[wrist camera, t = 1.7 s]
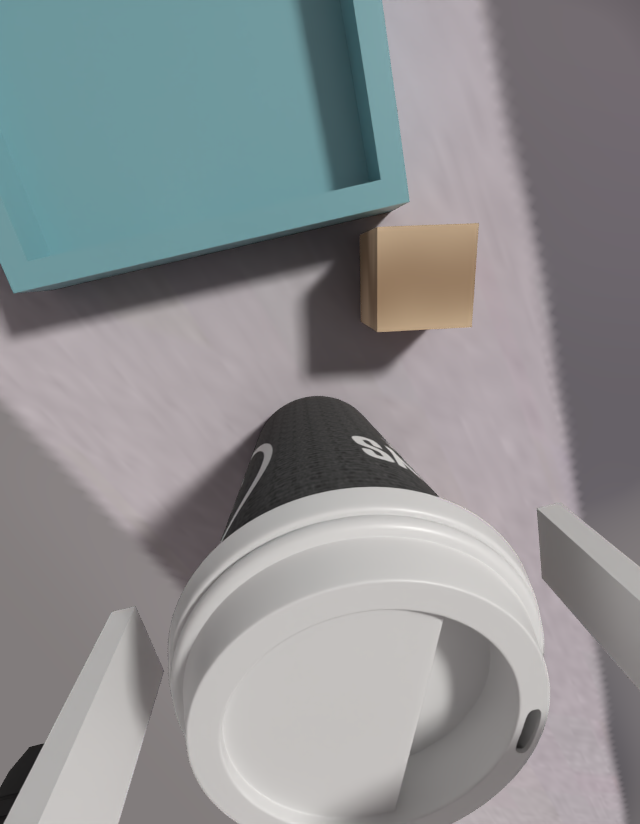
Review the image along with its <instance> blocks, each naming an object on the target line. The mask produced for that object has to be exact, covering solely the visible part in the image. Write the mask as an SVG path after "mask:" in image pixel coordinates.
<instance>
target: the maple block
mask: <svg viewBox="0 0 640 824" xmlns="http://www.w3.org/2000/svg"><path fill="white" fill-rule="evenodd" d="M478 227H479V223H473V224H446V225H419V226H392V227H376V228H374V229H372V230H370V231H367V232H365V233H363V234H361V235H360V304H361V322H362V323H364V324H365V325H367V326H369V327H370V328H372V329H373V330H375V331H376V332H389V331H408V330H426V329H445V328H463V327H472V314H473V299H474V285H475V270H476V256H477V241H478Z"/></svg>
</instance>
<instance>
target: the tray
mask: <svg viewBox="0 0 640 824" xmlns="http://www.w3.org/2000/svg"><path fill="white" fill-rule="evenodd" d="M408 202H410V201H409V194H408V186H407V179H406V172H405V165H404V157H403V150H402V143H401V136H400V128H399V121H398V114H397V107H396V99H395V92H394V85H393V77H392V70H391V63H390V56H389V48H388V41H387V34H386V27H385V19H384V12H383V5H382V0H0V264H1V266H2V268H3V270H4V273H5V275H6V277H7V279H8V282H9V284H10V286H11V289H12V291H13V293H24V292H36V291H47V290H54V289H59V288H63V287H67V286H72V285H76V284H80V283H85V282H89V281H93V280H98V279H102V278H106V277H110V276H115V275H119V274H123V273H128V272H132V271H136V270H141V269H145V268H149V267H154V266H158V265H162V264H167V263H171V262H175V261H179V260H184V259H188V258H192V257H197V256H201V255H205V254H210V253H214V252H218V251H223V250H227V249H231V248H236V247H240V246H244V245H248V244H253V243H257V242H261V241H266V240H270V239H274V238H279V237H283V236H287V235H292V234H296V233H300V232H305V231H309V230H313V229H317V228H322V227H326V226H330V225H335V224H339V223H343V222H348V221H352V220H356V219H361V218H365V217H369V216H374V215H378V214H382V213H386V212H391V211H393V210H395V209H397V208H398V207H400V206H402V205H404V204H406V203H408Z"/></svg>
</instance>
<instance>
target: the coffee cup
mask: <svg viewBox="0 0 640 824" xmlns="http://www.w3.org/2000/svg"><path fill="white" fill-rule="evenodd" d="M168 674H169V685H170V691H171V696H172V700H173V706H174V710H175V714H176V717H177V720H178V722H179V725H180V728H181V730H182V732H183V734H184V736H185V738H186V748H187V753H188V758H189V762H190V765H191V768H192V771H193V773H194V775H195V777H196V779H197V781H198V783H199V785H200V786H201V788H202V790H203V791H204V792H205V793H206V795H207V796H208V798H209V799H210V800H211V801H212V802H213V803H214V804H215V805H216V806H217V807H218V808H219V809H220V810H221V811H222V812H223V813H225V814H226V815H227V816H228V817H230V818H231V819H232V820H234V821H235V822H237V823H238V824H452V823H454V822H456V821H458V820H460V819H461V818H463V817H465V816H467V815H468V814H470V813H472V812H473V811H475V810H476V809H478V808H479V807H481V806H482V805H483V804H485V803H486V802H488V801H489V800H490V799H491V798H493V797H494V796H495V795H496V794H497V793H499V792H500V791H501V790H502V789H503V788H504V787H505V786H506V785H507V784H508V783H509V782H510V781H511V780H512V779H513V778H514V777H515V776H516V775H517V773H518V772H519V771H520V770H521V769H522V767H523V766H524V765H525V763H526V762H527V760H528V759H529V757H530V756H531V754H532V753H533V751H534V749H535V747H536V745H537V743H538V741H539V739H540V737H541V735H542V732H543V729H544V726H545V723H546V720H547V716H548V710H549V703H550V684H549V677H548V671H547V667H546V664H545V660H544V635H543V628H542V622H541V618H540V612H539V608H538V604H537V600H536V597H535V594H534V591H533V589H532V587H531V584H530V582H529V579H528V576H527V574H526V571H525V569H524V567H523V565H522V563H521V561H520V560H519V558H518V556H517V555H516V553H515V552H514V550H513V549H512V547H511V546H510V545H509V544H508V542H507V541H506V540H505V539H504V538H503V537H502V536H501V535H500V534H499V533H498V532H497V531H496V530H495V529H494V528H493V527H492V526H490V525H489V524H488V523H487V522H485V521H484V520H483V519H481V518H480V517H478V516H477V515H475V514H474V513H472V512H470V511H468V510H467V509H465V508H463V507H461V506H459V505H457V504H455V503H452V502H450V501H447V500H445V499H442V498H440V497H439V496H438V495H437V494H436V493H435V492H434V491H433V490H432V489H431V488H430V487H429V486H428V485H427V484H426V483H425V482H424V480H423V479H422V478H421V477H420V476H419V475H418V474H417V473H416V472H415V471H414V470H413V469H412V468H411V467H410V466H409V464H408V463H407V462H406V461H405V460H404V459H403V458H402V457H401V456H400V455H399V454H398V453H397V452H396V451H395V450H394V448H393V447H392V446H391V445H390V444H389V443H388V442H387V441H386V440H385V439H384V438H383V437H382V436H381V434H380V433H379V432H378V431H377V430H376V429H375V428H374V427H373V426H372V425H371V424H370V423H369V422H368V420H367V419H366V418H365V417H364V416H363V415H362V414H361V413H360V412H359V411H358V410H356V409H355V408H354V407H352V406H351V405H349V404H347V403H346V402H343V401H341V400H338V399H335V398H331V397H324V396H312V397H305V398H301V399H298V400H295V401H293V402H290V403H288V404H287V405H285V406H283V407H282V408H280V409H279V410H278V411H276V412H275V413H274V414H273V415H272V416H271V417H270V419H269V420H268V421H267V422H266V424H265V426H264V427H263V429H262V431H261V433H260V436H259V438H258V441H257V444H256V447H255V449H254V452H253V455H252V458H251V461H250V463H249V466H248V469H247V472H246V474H245V477H244V480H243V482H242V485H241V488H240V491H239V493H238V496H237V499H236V502H235V504H234V507H233V510H232V512H231V515H230V518H229V521H228V523H227V526H226V529H225V531H224V534H223V537H222V539H221V542H220V544H219V545H218V546H217V547H216V548H215V549H214V550H213V551H212V552H211V553H210V554H209V555H208V556H207V557H206V559H205V560H204V561H203V562H202V563H201V564H200V566H199V567H198V568H197V570H196V571H195V572H194V574H193V575H192V577H191V578H190V580H189V581H188V583H187V585H186V586H185V588H184V590H183V592H182V594H181V596H180V598H179V600H178V603H177V605H176V608H175V611H174V614H173V617H172V621H171V626H170V631H169V638H168Z"/></svg>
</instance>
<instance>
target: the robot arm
mask: <svg viewBox="0 0 640 824" xmlns="http://www.w3.org/2000/svg"><path fill="white" fill-rule="evenodd" d="M537 517H538V530H539V544H540V558H541V571H542V579H543V580H544V581H545V582H546V583H547V584H548V585H549V587H550V588H551V589H552V590H553V591H554V592H555V594H556V595H557V596H558V597H559V598H560V599H561V600H562V602H563V603H564V604H565V605H566V606H567V607H568V609H569V610H570V611H571V612H572V613H573V614H574V615H575V617H576V618H577V619H578V620H579V621H580V622H581V623H582V625H583V626H584V627H585V628H586V629H587V630H588V632H589V633H590V634H591V635H592V636H593V637H594V638H595V640H596V641H597V642H598V643H599V644H600V645H601V647H602V648H603V649H604V650H605V651H606V652H607V653H608V655H609V656H610V657H611V658H612V659H613V660H614V661H615V663H616V664H617V665H618V666H619V667H620V668H621V670H622V671H623V672H624V673H625V674H626V675H627V676H628V678H629V679H630V680H631V681H632V682H633V683H634V684H635V686H636V687H637V688H638V689H639V690H640V567H639V566H638V565H637V564H636V563H634V562H633V561H632V560H631V559H629V558H628V557H627V556H625V555H624V554H623V553H622V552H620V551H619V550H618V549H617V548H616V547H614V546H613V545H612V544H611V543H609V542H608V541H607V540H606V539H604V538H603V537H602V536H601V535H600V534H598V533H597V532H596V531H595V530H593V529H592V528H591V527H590V526H588V525H587V524H586V523H584V522H583V521H582V520H581V519H580V518H578V517H577V516H576V515H575V514H573V513H572V512H571V511H570V510H569V509H567V508H566V507H565V506H564V505H562V504H561V503H556V504H552V505H548V506H544V507H540V508H537ZM163 672H164V670H163V668H162V665H161V663H160V661H159V659H158V656H157V654H156V652H155V649H154V647H153V645H152V643H151V640H150V638H149V636H148V634H147V631H146V629H145V627H144V624H143V622H142V620H141V618H140V615H139V613H138V611H137V609H136V606H133V607H129V608H125V609H121V610H117V611H113V612H111V614H110V616H109V618H108V620H107V622H106V624H105V626H104V628H103V630H102V632H101V634H100V636H99V637H98V639H97V641H96V643H95V645H94V647H93V649H92V651H91V653H90V655H89V657H88V659H87V661H86V663H85V665H84V667H83V669H82V671H81V673H80V675H79V677H78V679H77V681H76V683H75V685H74V687H73V689H72V690H71V692H70V695H69V696H68V699H67V700H66V702H65V704H64V706H63V708H62V710H61V712H60V714H59V716H58V718H57V720H56V722H55V724H54V726H53V728H52V730H51V732H50V734H49V736H48V737H47V740H46V742H45V743H44V744H40V745H36V746H32V747H29V749H28V750H27V751H26V752H25V753H24V754H23V756H22V757H21V758H20V759H19V760H18V762H17V763H16V764H15V765H14V767H13V768H12V769H11V770H10V771H9V773H8V774H7V776H6V778H5V780H4V782H3V783H2V785H1V787H0V824H118V822H119V819H120V816H121V812H122V809H123V806H124V802H125V799H126V796H127V792H128V789H129V786H130V782H131V779H132V776H133V772H134V769H135V766H136V762H137V759H138V756H139V752H140V749H141V746H142V742H143V739H144V736H145V732H146V729H147V725H148V722H149V719H150V716H151V712H152V709H153V706H154V702H155V699H156V696H157V692H158V689H159V686H160V682H161V679H162V676H163Z"/></svg>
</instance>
